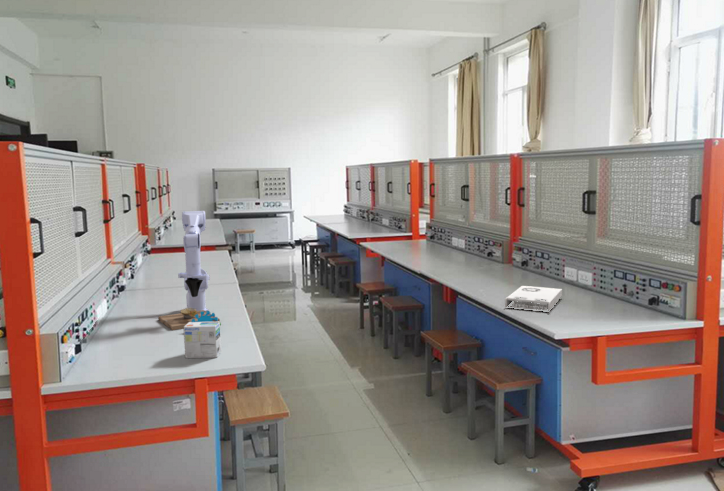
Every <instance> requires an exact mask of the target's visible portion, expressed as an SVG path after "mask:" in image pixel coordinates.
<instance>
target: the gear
mask: <svg viewBox="0 0 724 491" xmlns="http://www.w3.org/2000/svg"><path fill="white" fill-rule="evenodd" d="M200 313H201V317H200V318H198V317H199V316H198V314H196V315H195V317H196V318H197V319H198V321H195V319H192V322H213V320H215V321H218V318H219V317H218V316H216V314H215V312H212V313H211V311H210V310H209V311H206V314H205V315H204V312H203V311H202V312H200ZM209 314H211V315H209ZM203 315H204V316H203ZM207 315H209V316H207ZM214 316H215V318H211V317H214ZM221 325H222V323H221V322H220V327H221Z"/></svg>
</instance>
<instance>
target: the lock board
mask: <svg viewBox="0 0 724 491" xmlns="http://www.w3.org/2000/svg"><path fill="white" fill-rule="evenodd" d="M202 311H203V312H204V315H205V314H206V312H207V311H204V310H200V311H197V314H198V316H199V317H198V318H200V317H201V313H200V312H202ZM211 314H212V313H210V314H209V315H211ZM204 315H203V316H204ZM209 315H207V316H209ZM215 317H216V315H215V316H214V317H211V318H215ZM157 318H158V321H159V322H160V323H162V324H163V325H164V326H165V327H167V328H168V329H170V330H171V331H176V330H184V326H185V325H186V324H187V323H189V322H192V319H195V321H198V319H197V318H196V317H195V316H194V317H191V316H190V315H184V314H181V312H180V313H176V314H175V313H174V314H167V315H161V316H158V317H157ZM217 318H218V321H220V318H219V317H217ZM213 322H217V321H215V320H213ZM220 322H221V321H220Z"/></svg>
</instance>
